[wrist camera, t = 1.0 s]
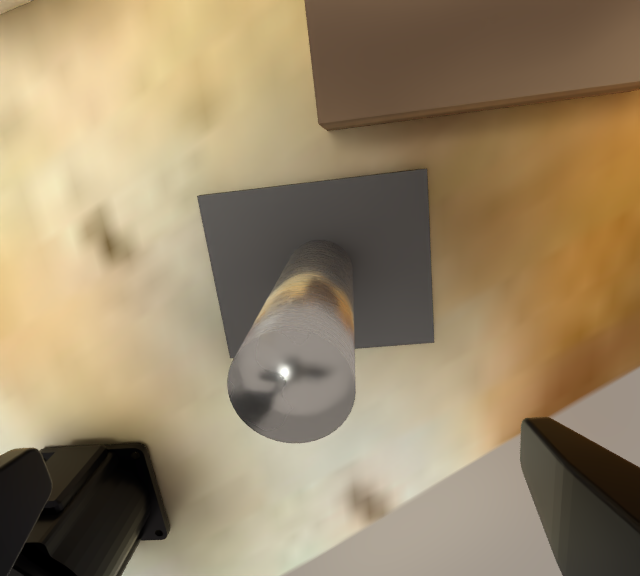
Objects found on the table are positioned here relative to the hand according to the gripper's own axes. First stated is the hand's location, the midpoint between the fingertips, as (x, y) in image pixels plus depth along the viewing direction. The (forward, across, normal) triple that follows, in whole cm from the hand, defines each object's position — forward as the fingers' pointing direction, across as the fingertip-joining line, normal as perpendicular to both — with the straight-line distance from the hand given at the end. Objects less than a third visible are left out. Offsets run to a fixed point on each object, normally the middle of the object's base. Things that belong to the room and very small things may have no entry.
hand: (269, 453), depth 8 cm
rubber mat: (+12, 0, 0) cm, 13 cm away
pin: (+12, 0, 0) cm, 12 cm away
